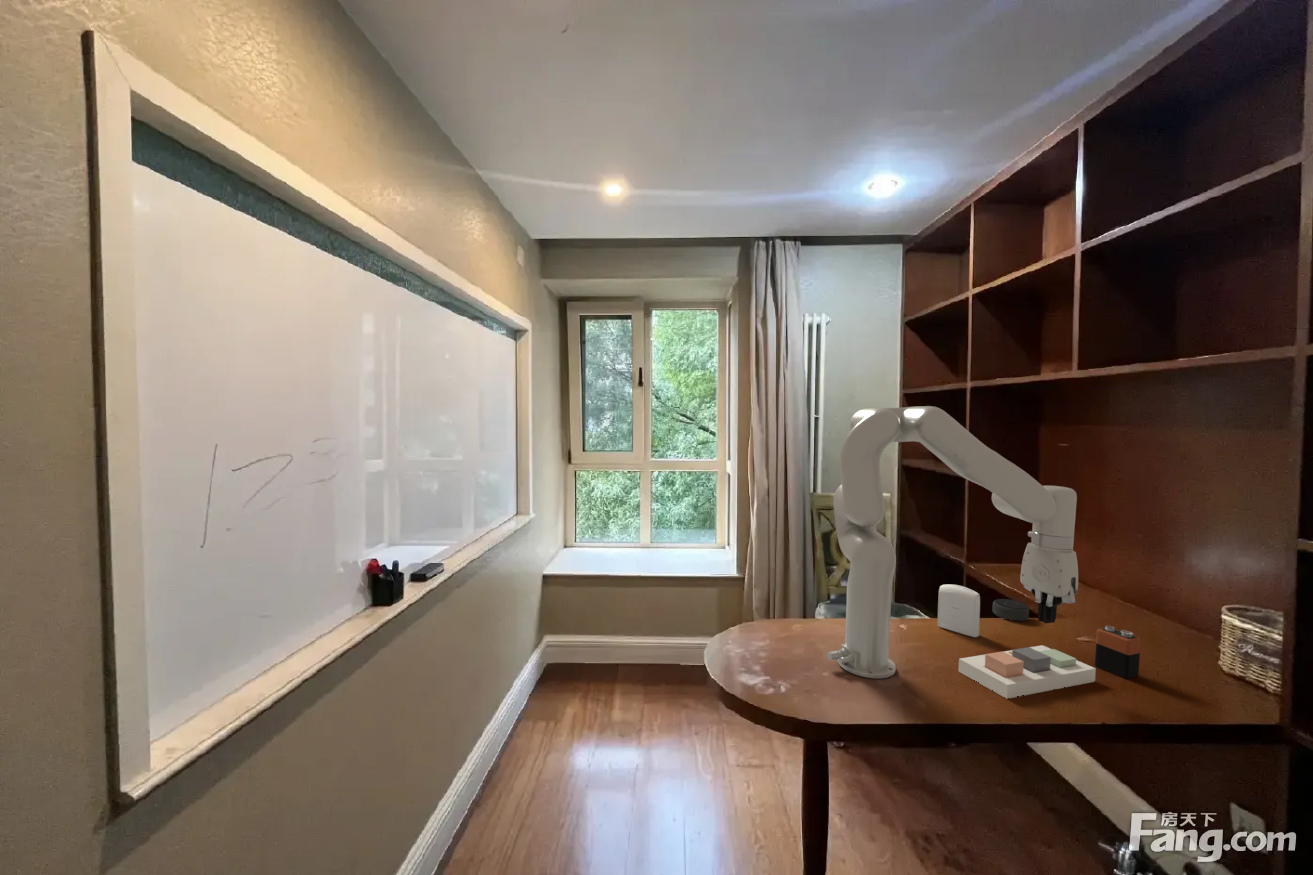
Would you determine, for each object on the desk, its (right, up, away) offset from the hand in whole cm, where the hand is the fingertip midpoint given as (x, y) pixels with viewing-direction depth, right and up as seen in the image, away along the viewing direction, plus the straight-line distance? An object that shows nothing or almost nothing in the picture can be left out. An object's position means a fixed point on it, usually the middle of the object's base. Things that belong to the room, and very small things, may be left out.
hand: (1046, 621), depth 120 cm
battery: (+19, -13, +3) cm, 23 cm away
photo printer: (-6, -11, +25) cm, 28 cm away
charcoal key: (-4, -10, -1) cm, 11 cm away
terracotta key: (-12, -10, -3) cm, 16 cm away
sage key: (+4, -11, +2) cm, 12 cm away
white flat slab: (-5, -13, 0) cm, 13 cm away
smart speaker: (+16, -11, +36) cm, 41 cm away
